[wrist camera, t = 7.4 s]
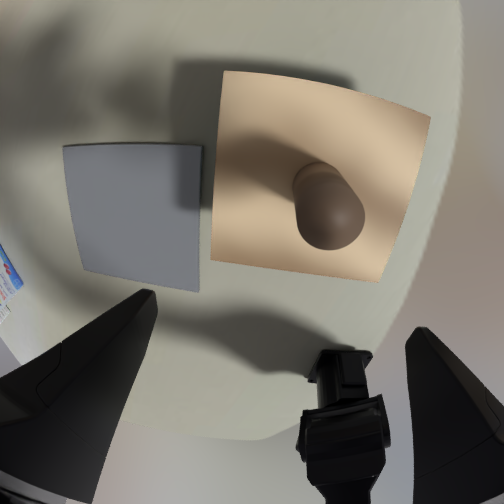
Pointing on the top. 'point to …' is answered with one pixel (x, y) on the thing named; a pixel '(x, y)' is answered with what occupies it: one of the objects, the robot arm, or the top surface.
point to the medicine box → (8, 280)
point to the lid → (311, 176)
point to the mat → (137, 210)
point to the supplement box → (4, 313)
